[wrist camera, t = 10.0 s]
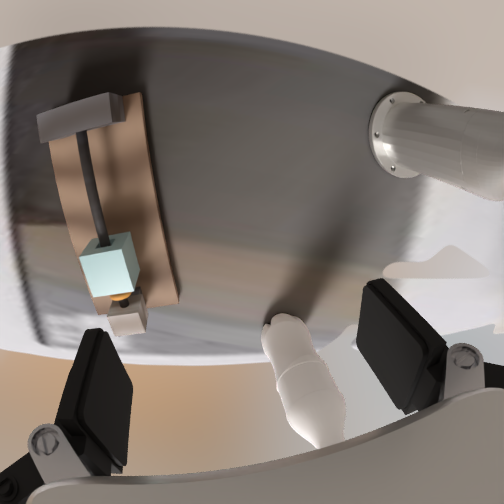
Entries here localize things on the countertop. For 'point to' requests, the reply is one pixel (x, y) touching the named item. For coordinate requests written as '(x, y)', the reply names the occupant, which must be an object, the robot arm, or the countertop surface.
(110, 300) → the linear slide rail
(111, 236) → the sleeve
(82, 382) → the robot arm
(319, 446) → the water bottle
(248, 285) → the countertop surface
